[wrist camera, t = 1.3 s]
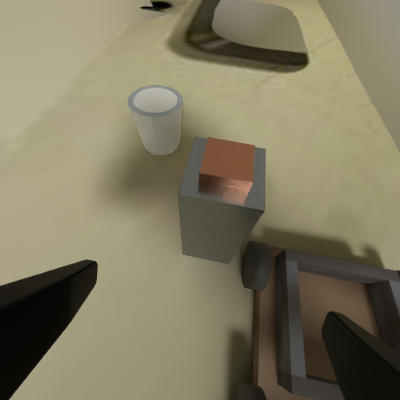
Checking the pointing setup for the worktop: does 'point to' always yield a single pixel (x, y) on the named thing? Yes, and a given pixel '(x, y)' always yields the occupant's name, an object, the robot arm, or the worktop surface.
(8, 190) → the worktop surface
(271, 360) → the chassis
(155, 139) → the shot glass
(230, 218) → the engine block
